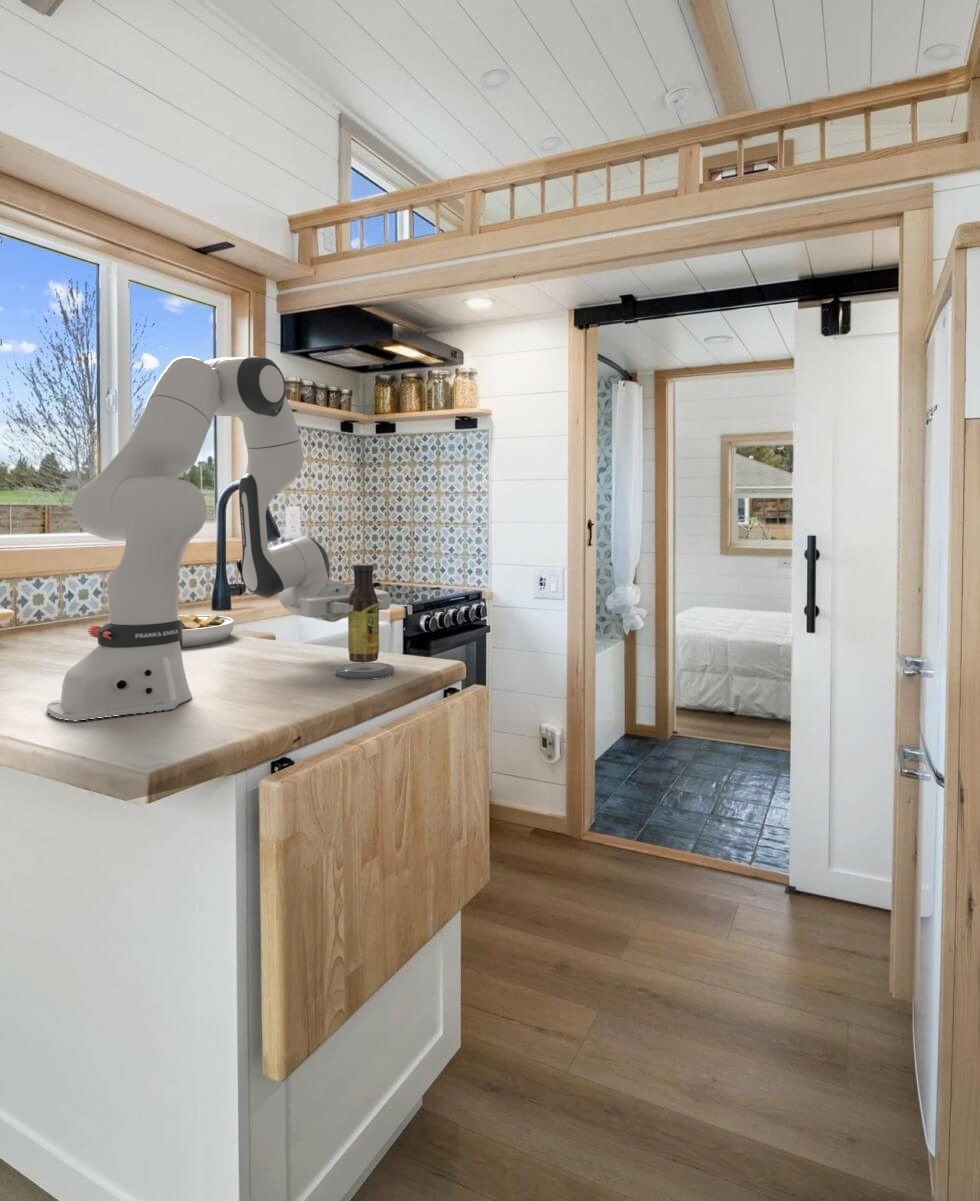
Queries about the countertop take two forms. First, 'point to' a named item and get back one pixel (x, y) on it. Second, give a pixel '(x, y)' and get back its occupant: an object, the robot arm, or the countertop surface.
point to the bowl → (204, 629)
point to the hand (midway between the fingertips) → (366, 606)
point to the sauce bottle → (363, 617)
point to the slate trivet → (364, 670)
